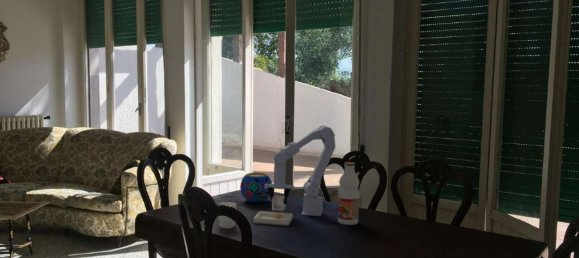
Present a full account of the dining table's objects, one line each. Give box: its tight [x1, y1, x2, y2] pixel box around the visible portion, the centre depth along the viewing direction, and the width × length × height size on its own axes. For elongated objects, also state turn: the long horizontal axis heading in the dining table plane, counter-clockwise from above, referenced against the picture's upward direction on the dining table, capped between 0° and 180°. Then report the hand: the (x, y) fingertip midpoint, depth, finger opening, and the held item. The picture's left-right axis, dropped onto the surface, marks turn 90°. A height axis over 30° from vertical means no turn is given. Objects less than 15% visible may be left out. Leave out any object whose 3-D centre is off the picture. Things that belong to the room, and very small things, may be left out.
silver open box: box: [271, 195, 287, 212], centre depth 228 cm, size 6×6×6 cm
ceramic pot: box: [239, 172, 273, 203], centre depth 252 cm, size 18×18×15 cm
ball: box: [275, 212, 281, 219], centre depth 216 cm, size 3×3×3 cm
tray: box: [253, 210, 294, 227], centre depth 216 cm, size 16×12×2 cm
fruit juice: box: [337, 161, 360, 226], centre depth 215 cm, size 9×9×28 cm
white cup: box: [218, 201, 237, 229], centre depth 205 cm, size 8×8×10 cm
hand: (278, 203), depth 228 cm, fingers closed on silver open box, 6 cm apart
